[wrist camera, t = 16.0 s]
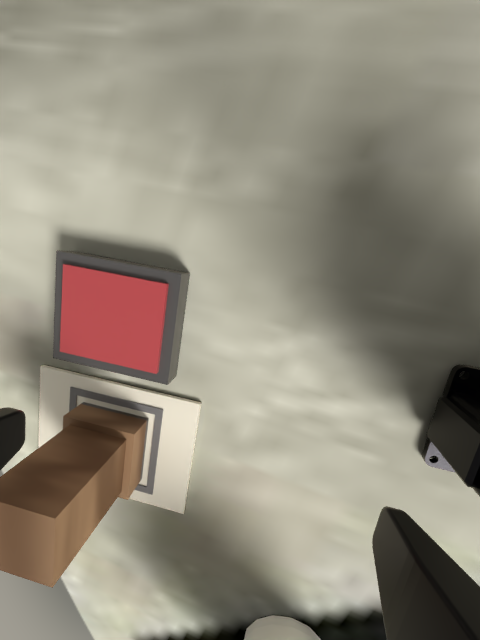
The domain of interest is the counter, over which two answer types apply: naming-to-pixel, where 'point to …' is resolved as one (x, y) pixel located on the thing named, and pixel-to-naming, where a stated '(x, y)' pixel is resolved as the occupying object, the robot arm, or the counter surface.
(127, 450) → the stamp
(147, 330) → the ink pad
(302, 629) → the foam cup
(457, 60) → the counter surface
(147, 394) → the paper sheet
